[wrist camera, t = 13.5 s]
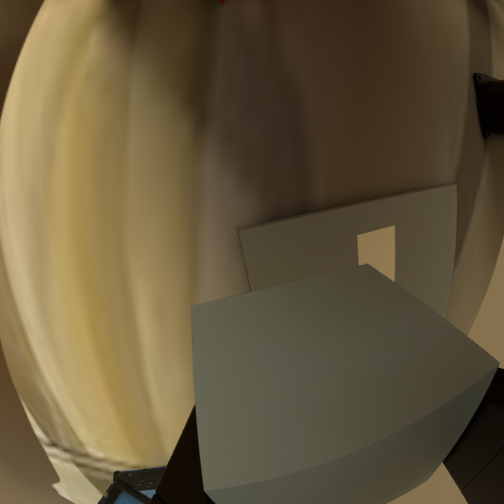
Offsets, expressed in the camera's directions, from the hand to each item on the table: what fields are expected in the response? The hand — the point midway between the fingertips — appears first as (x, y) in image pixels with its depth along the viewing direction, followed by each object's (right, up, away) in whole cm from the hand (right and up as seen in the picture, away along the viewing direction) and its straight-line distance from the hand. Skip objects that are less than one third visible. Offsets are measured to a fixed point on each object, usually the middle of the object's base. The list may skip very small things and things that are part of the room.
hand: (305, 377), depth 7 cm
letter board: (+8, -1, +14) cm, 16 cm away
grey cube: (0, 0, +1) cm, 1 cm away
